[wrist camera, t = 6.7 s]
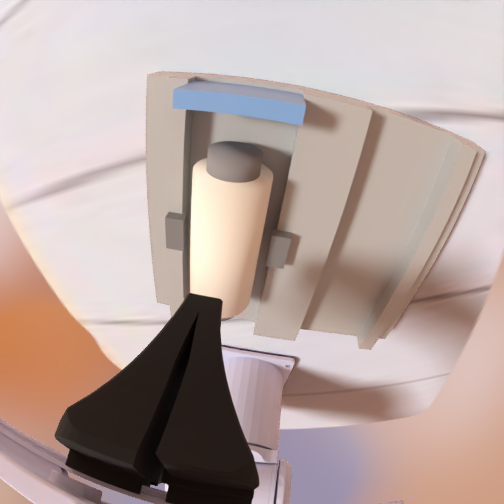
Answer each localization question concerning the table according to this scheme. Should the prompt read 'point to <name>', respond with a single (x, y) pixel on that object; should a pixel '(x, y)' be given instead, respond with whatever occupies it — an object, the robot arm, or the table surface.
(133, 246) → the table surface
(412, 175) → the beige mounting plate
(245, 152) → the cream cylinder
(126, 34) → the table surface
